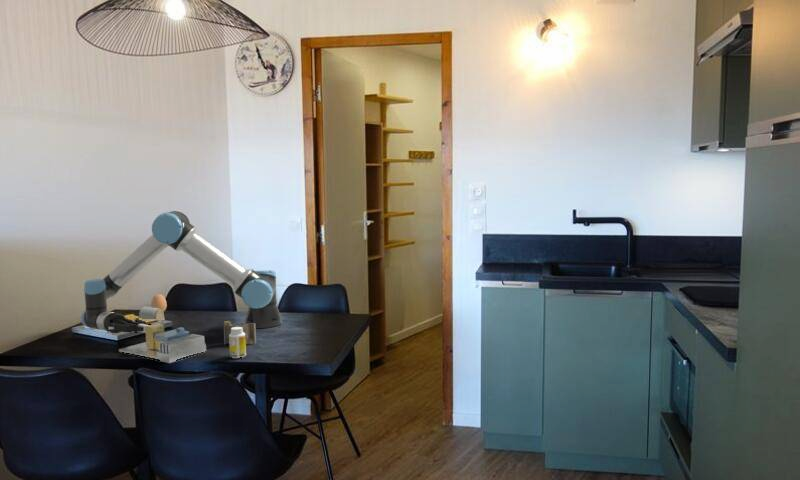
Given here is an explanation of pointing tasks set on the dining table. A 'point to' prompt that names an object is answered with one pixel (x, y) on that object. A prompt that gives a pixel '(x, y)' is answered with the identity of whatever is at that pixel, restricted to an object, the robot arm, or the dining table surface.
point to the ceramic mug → (151, 313)
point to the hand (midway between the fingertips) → (150, 329)
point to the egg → (159, 302)
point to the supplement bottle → (237, 342)
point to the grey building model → (170, 346)
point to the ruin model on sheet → (247, 329)
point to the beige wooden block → (150, 333)
